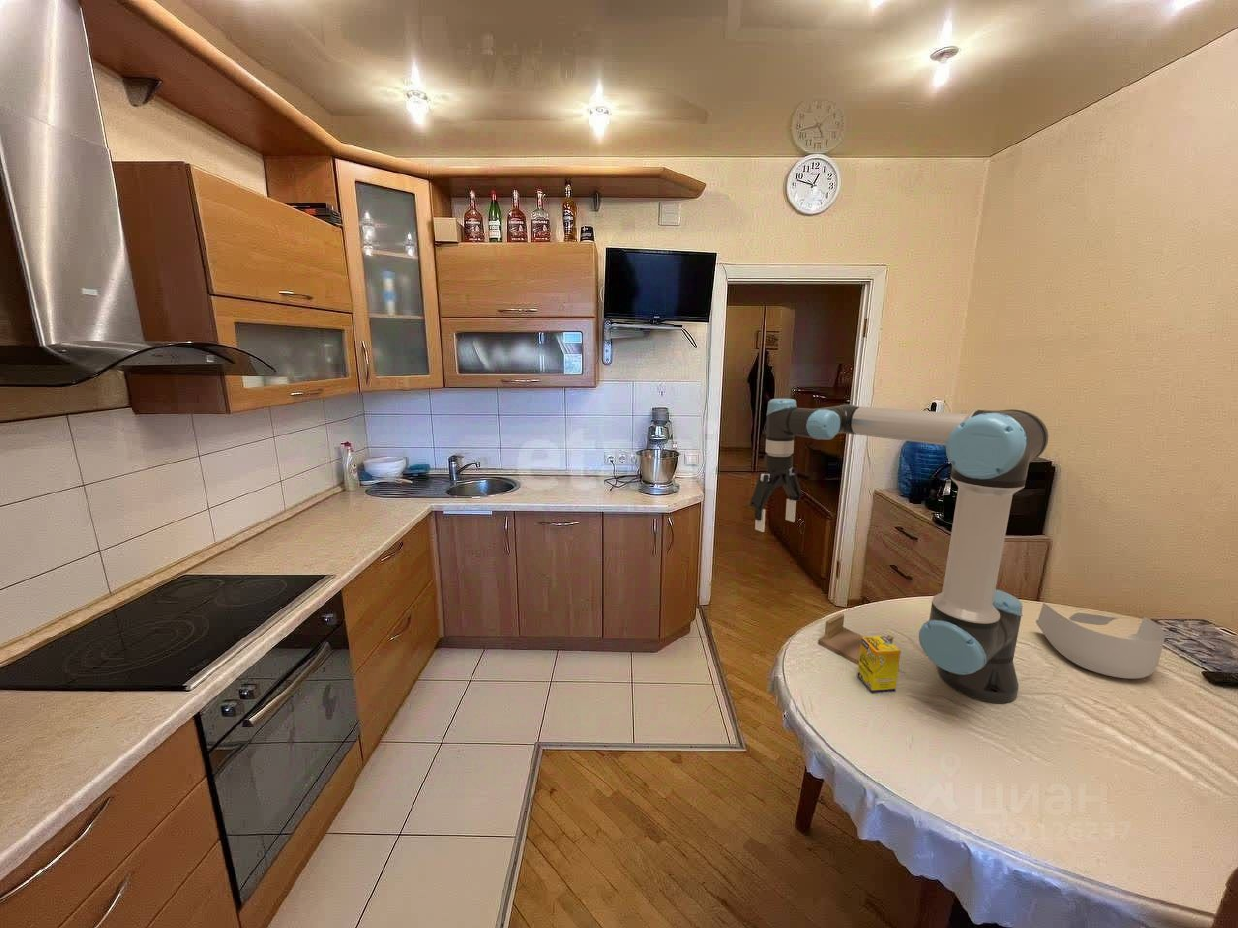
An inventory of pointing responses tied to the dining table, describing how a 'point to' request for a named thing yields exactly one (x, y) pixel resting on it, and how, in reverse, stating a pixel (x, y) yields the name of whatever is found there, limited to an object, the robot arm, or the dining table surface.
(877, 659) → the supplement box
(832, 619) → the stand
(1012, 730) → the dining table surface
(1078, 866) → the dining table surface
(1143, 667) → the bowl
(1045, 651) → the dining table surface
